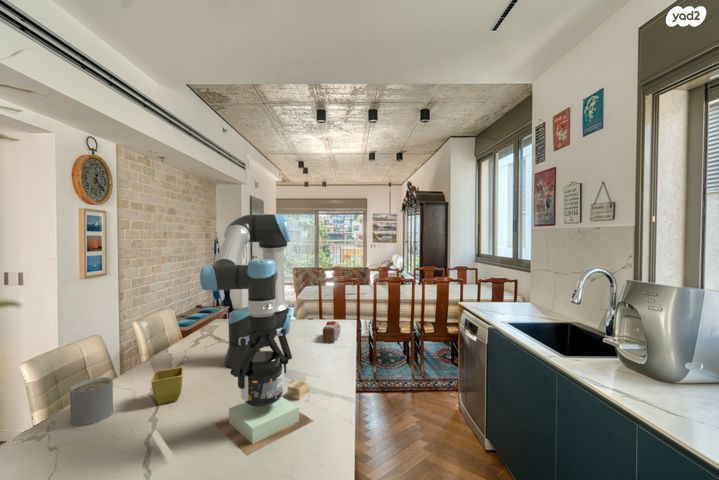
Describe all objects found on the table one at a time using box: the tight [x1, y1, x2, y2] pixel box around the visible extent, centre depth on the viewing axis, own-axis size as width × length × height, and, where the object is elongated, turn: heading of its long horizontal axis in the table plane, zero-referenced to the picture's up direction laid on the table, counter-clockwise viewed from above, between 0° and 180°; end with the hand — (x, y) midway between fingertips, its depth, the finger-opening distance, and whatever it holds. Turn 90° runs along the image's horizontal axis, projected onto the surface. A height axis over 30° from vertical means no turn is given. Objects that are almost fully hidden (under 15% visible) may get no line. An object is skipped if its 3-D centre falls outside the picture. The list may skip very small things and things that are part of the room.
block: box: [287, 380, 310, 401], centre depth 107 cm, size 5×5×5 cm
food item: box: [322, 320, 341, 344], centre depth 171 cm, size 14×8×10 cm, turn 173°
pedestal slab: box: [228, 396, 300, 444], centre depth 91 cm, size 14×14×4 cm
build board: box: [213, 411, 314, 456], centre depth 91 cm, size 20×20×2 cm
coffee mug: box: [69, 376, 114, 427], centre depth 100 cm, size 13×10×10 cm
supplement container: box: [244, 350, 284, 407], centre depth 91 cm, size 10×10×12 cm
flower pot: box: [150, 366, 184, 405], centre depth 108 cm, size 9×9×9 cm
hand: (263, 392), depth 91 cm, fingers closed on supplement container, 10 cm apart
